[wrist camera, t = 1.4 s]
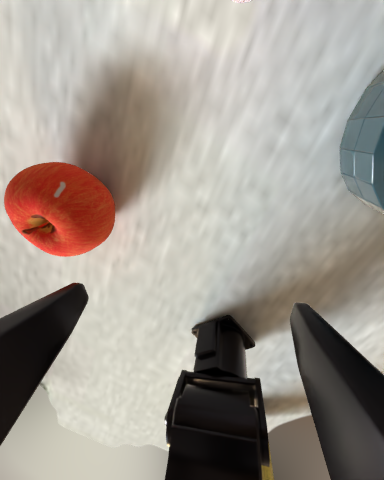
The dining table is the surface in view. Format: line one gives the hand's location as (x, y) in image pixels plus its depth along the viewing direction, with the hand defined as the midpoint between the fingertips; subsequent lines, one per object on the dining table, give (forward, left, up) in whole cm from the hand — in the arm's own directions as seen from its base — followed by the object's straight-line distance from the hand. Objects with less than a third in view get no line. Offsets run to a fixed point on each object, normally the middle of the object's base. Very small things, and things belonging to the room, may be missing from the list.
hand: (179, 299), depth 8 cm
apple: (+8, +9, -12) cm, 17 cm away
